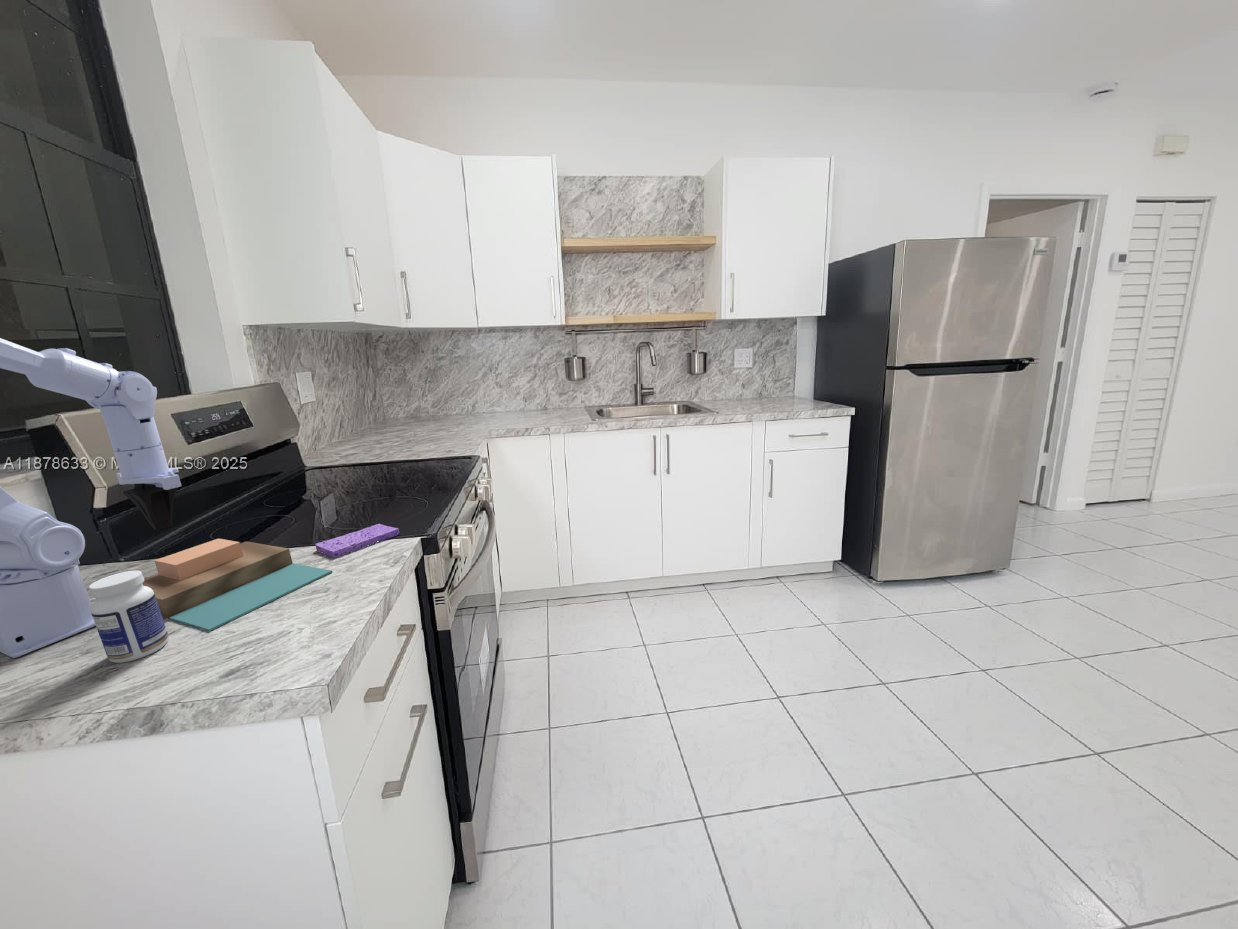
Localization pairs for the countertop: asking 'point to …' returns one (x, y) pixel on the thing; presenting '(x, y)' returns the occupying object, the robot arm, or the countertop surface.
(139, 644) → the pill bottle
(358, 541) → the sponges
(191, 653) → the countertop surface
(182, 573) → the tile
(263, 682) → the countertop surface
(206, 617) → the teal mat
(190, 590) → the board
